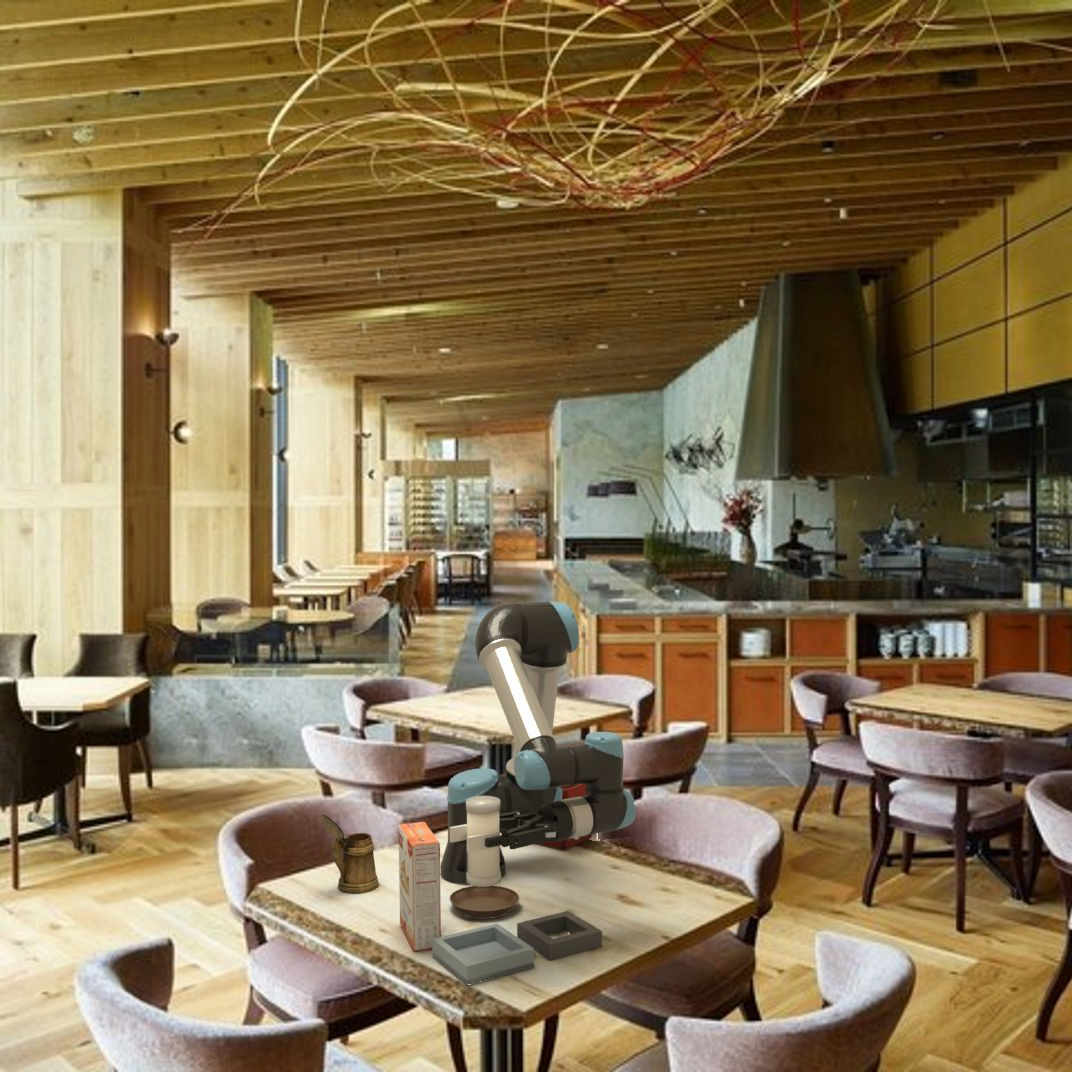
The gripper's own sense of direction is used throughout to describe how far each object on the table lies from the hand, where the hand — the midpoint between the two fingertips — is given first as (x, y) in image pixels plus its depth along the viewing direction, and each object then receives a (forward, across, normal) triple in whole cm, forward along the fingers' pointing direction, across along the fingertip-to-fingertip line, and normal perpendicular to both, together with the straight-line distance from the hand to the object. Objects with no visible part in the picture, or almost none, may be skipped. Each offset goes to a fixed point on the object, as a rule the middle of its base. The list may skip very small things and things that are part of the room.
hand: (459, 839), depth 190 cm
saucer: (-18, +23, -24) cm, 38 cm away
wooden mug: (+2, +49, -24) cm, 55 cm away
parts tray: (-5, 0, -24) cm, 24 cm away
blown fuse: (-5, 0, -8) cm, 10 cm away
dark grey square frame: (-22, 0, -24) cm, 32 cm away
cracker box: (0, +17, -24) cm, 30 cm away
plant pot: (-56, +53, -24) cm, 81 cm away
